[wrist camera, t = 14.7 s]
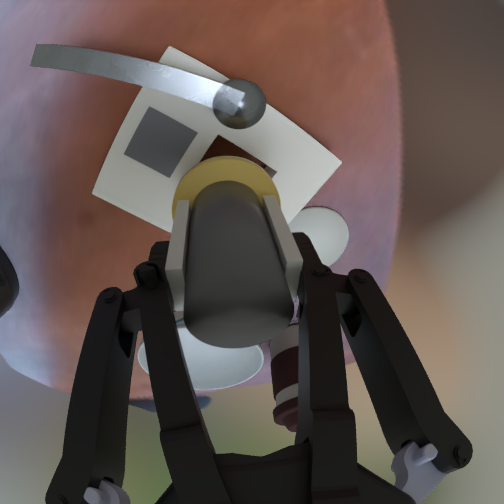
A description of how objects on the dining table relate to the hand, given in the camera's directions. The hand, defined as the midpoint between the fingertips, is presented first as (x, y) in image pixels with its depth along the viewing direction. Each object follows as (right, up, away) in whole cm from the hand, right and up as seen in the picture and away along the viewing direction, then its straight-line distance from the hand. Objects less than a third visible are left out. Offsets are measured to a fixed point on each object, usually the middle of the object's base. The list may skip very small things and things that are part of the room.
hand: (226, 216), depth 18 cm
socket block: (-2, +6, +6) cm, 9 cm away
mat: (+8, -1, +13) cm, 16 cm away
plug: (-1, +3, +4) cm, 5 cm away
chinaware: (-5, -11, +19) cm, 22 cm away
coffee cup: (+8, -16, +25) cm, 30 cm away
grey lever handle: (-5, +10, -3) cm, 12 cm away
